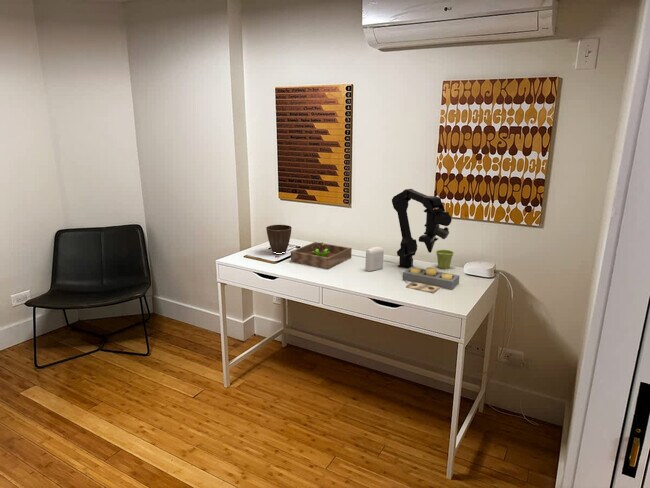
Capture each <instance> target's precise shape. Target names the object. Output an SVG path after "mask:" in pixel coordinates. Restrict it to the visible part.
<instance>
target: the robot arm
mask: <svg viewBox="0 0 650 488" xmlns="http://www.w3.org/2000/svg"><path fill="white" fill-rule="evenodd" d="M411 200H412V201H416V202H417V203H420V204H422V206H423V207H424V208H425V209H424V210H423V212H424V213H426V216H425V217H426V218H425V224H424V227H425V231H423V234H421V235H420V236H419V237H418V242H420V243H424V245H425V247H426V249H427V252H428V253H432V251H433V248H434V245H435V243H436V242H437V241H438V240H439V239H440V238H441V239H442V240H445V239H447V238H448V236H449V234H450V231H449V228H448V226H450V225H451V224H452V219H453V218H452V217H451V215H450V212H449V211H446V209H445V207H444V205H443V202H442V199H441V197H440V196H436V195H435V196H433V195H427V194H424V193H422V192H419V191H417V190H414V189H413V188H406V189H404V190H403V191H402V192H400V193H397V194H395V195H394V196H393V197H392V199H391V204H392V208H393V209H394V210H395V212H396V213H397V218H398V223H399V227H400V233H401V241H400V248H399V249H398V250H397V251H396V254H397V257H399V259H398V261H399V262H398V265H397V267H399V268H403V269H409V268H410V267H414V258H413V256H415V255H416V253H417V251H418V244H417V239H414V237H412V231H411V227H410V223H409V222H410V221H409V217H408V212H407V211H408V208H409V202H410V201H411ZM440 226H443V227H444V228H443V227H440ZM436 236H437V237H436Z"/></svg>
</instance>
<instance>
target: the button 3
mask: <svg viewBox="0 0 650 488" xmlns="http://www.w3.org/2000/svg"><path fill="white" fill-rule="evenodd" d="M444 273H445V274H442V277H441V278H444V279H449V280H451V279H452V275H451V274H452V273H449V274H447V272H444Z"/></svg>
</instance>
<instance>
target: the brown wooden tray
mask: <svg viewBox="0 0 650 488" xmlns="http://www.w3.org/2000/svg"><path fill="white" fill-rule="evenodd" d="M320 243H321V242H317V241H314V242H312V243H309V244H306V245H304V246H301V247H298V248H296V249H294V250H291V251H290V263H294V264H301V265H304V266H309V267H315V268H321V269H324V270H330V269H332V268H334V267H337V266H338V265H340V264H343V263H344V262H346V261H348V260H351V259H352V247H349V246H348V247H347V246H346V247H345V246H341V245H336V244H329V243H324V242H323V243H324V246H323V250H325V249H328V251H327V252H329V251H330V252H331V253H335V254H334V255H332V256H330V257H328V258H327V257H322V256H317V255H311V254H308V253H313V251H315V250H316V249H318V248H317V247H314V248H313V249H312V246H318V247H319V248H321V245H320Z"/></svg>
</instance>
